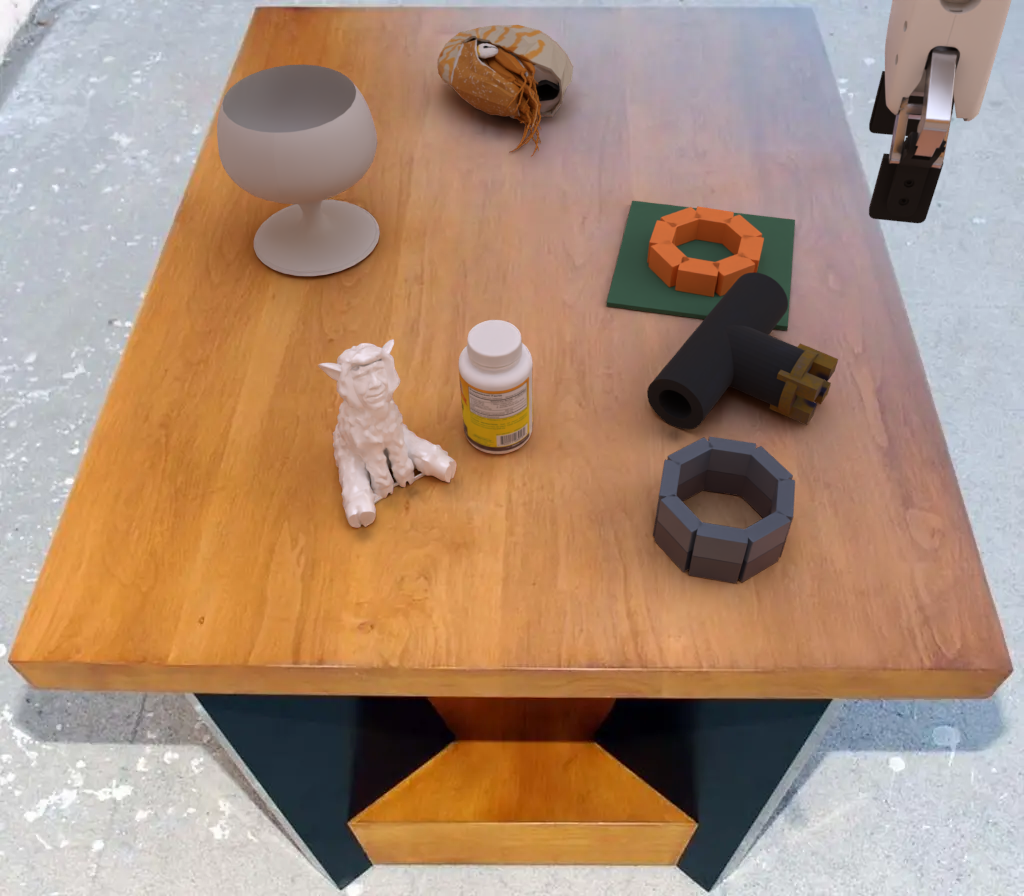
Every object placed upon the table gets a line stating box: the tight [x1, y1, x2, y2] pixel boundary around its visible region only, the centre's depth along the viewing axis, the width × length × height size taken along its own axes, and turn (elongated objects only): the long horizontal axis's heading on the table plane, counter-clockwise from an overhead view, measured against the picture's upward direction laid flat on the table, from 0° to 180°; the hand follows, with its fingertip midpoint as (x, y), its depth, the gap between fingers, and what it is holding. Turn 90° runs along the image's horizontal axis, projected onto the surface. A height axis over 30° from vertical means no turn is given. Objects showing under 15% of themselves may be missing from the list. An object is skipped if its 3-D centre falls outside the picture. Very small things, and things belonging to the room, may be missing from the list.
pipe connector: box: [646, 272, 839, 430], centre depth 81 cm, size 12×5×15 cm
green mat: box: [605, 200, 796, 331], centre depth 94 cm, size 16×16×1 cm
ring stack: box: [652, 436, 796, 584], centre depth 72 cm, size 9×9×5 cm
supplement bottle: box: [458, 319, 534, 455], centre depth 77 cm, size 6×6×10 cm
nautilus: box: [436, 24, 574, 158], centre depth 110 cm, size 8×22×15 cm
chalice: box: [216, 64, 381, 277], centre depth 92 cm, size 14×14×15 cm
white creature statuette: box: [317, 338, 458, 529], centre depth 74 cm, size 10×9×12 cm
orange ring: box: [647, 205, 764, 297], centre depth 93 cm, size 10×10×2 cm
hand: (894, 173), depth 63 cm, fingers open, 9 cm apart
